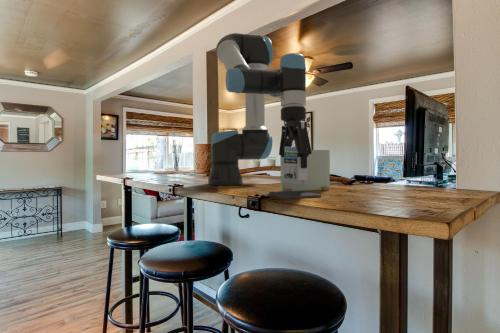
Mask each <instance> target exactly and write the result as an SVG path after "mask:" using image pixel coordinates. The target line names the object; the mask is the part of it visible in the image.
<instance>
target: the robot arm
mask: <svg viewBox="0 0 500 333" xmlns="http://www.w3.org/2000/svg"><path fill="white" fill-rule="evenodd" d="M215 53H216V57H217V59H218V60H219V61H220V62H221V64H223V66H224V68H225V70H226V73H225V89H226V91H227V92H229V93H233V94H235V93H236V94H244V95H245V97H244V98H245V106H244V107H245V108H244V109H245V111H244V112H245V120H244V122H245V125H244V127H243V128H242V129H241V133H239V131H238V130H237V129H235V130H234V129H233V130H223V131H219V132H215V133H213V134H212V135H211V144H210V146H211V168H210V172H209V175H208V178H207V183H208V185H210V186H236V185H242V184H243V175H242V173H241V171H240V170H241V169H240V167H239V160H240V161H242V160H245V161H247V160H256V161H260V160H266V159H268V157H269V156H270V154H271V152H272V148H273V143H274V142H273V136H272V134H271V133H269V129H268V128H267V127H266V126H265V124H266V123H265V116H266V115H265V109H266V108H265V107H266V105H265V103H266V102H265V100H266V99H265V98H266V97H265V96H266V95H270V96H271V97H274V98H279V100H280V107H281V109H280V120H281V121H282V122H285V125H282V126H281V136H280V143H279V151H278V155H279V156H280V155H281V157H282V177H283V168H284V152H285V147H286V146H287V147H293V143H294V144H295V147H296V148H297V151H298V154H297V167H298V180H308V177H307V157H308V156H309V154H311V153H312V152H311V150H312V146H311V142H310V137H309V132H308V124H307V122H308V121H305V120H306V119H307V112H306V111H307V108H306V107H305V106H307V92H306V89H307V88H306V81H307V80H306V76H307V75H306V72H307V67H306V58H305V56H304V54H301V53H297V52H296V53H295V52H293V53H292V52H291V53H287V54H283V55H282V56H281V57H280V63H279V69H278V70H267V69H269V65H271V64H272V62H273V57H274V48H273V44H272V40H271V39H270V38H269V37H268V36H263V35H260V34H257V35H256V34H245V33H237V32H233V33H229V34H227V35H225V36H223V37H221V39H220V40H219V41H218V42H217V44H216V48H215Z"/></svg>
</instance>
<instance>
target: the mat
mask: <svg viewBox="0 0 500 333" xmlns="http://www.w3.org/2000/svg"><path fill="white" fill-rule="evenodd" d="M268 194H269V195H271V196H273V197H276V198H279V199H281V200H290V199H291V200H292V199H309V198H311V199H314V198H322V194H319V193H315V192H311V191H309V190H302V191H281V190H280V191H269V192H268Z"/></svg>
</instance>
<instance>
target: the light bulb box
mask: <svg viewBox="0 0 500 333" xmlns="http://www.w3.org/2000/svg"><path fill="white" fill-rule="evenodd" d="M297 154H298V151H297V148H296V146H292V147H287V146H286V147H285V152H284V168H283V183H291V184H305V180H298V167H297Z"/></svg>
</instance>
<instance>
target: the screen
mask: <svg viewBox="0 0 500 333" xmlns="http://www.w3.org/2000/svg"><path fill="white" fill-rule="evenodd" d="M311 152H312V153H311V154H309V156H308V157H307V177H308V180H305V184H291V183H283V177H282V157H281V155H279V157H280V191H302V190H304V191H320V190H321V191H330V189H331V188H330V186H331V185H330V184H331V182H330V181H331V178H330V177H331V175H330V174H331V172H330V169H331V168H330V163H331V162H330V157H331V156H330V155H331V154H330V149H311Z"/></svg>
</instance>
